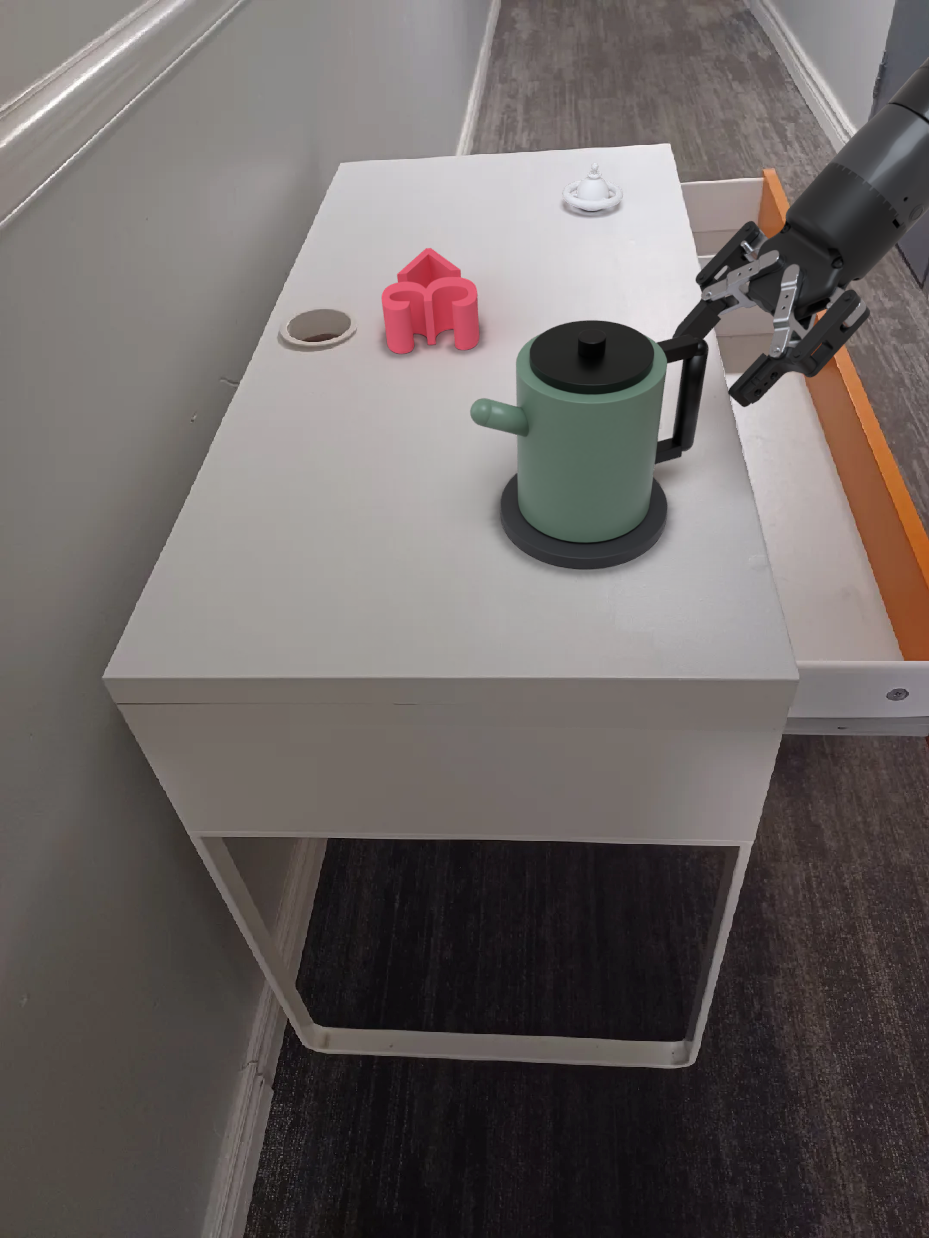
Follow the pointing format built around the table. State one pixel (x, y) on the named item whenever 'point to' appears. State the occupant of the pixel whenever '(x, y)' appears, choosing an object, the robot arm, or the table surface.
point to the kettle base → (582, 552)
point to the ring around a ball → (592, 192)
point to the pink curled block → (430, 304)
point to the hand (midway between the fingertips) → (706, 373)
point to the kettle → (594, 424)
